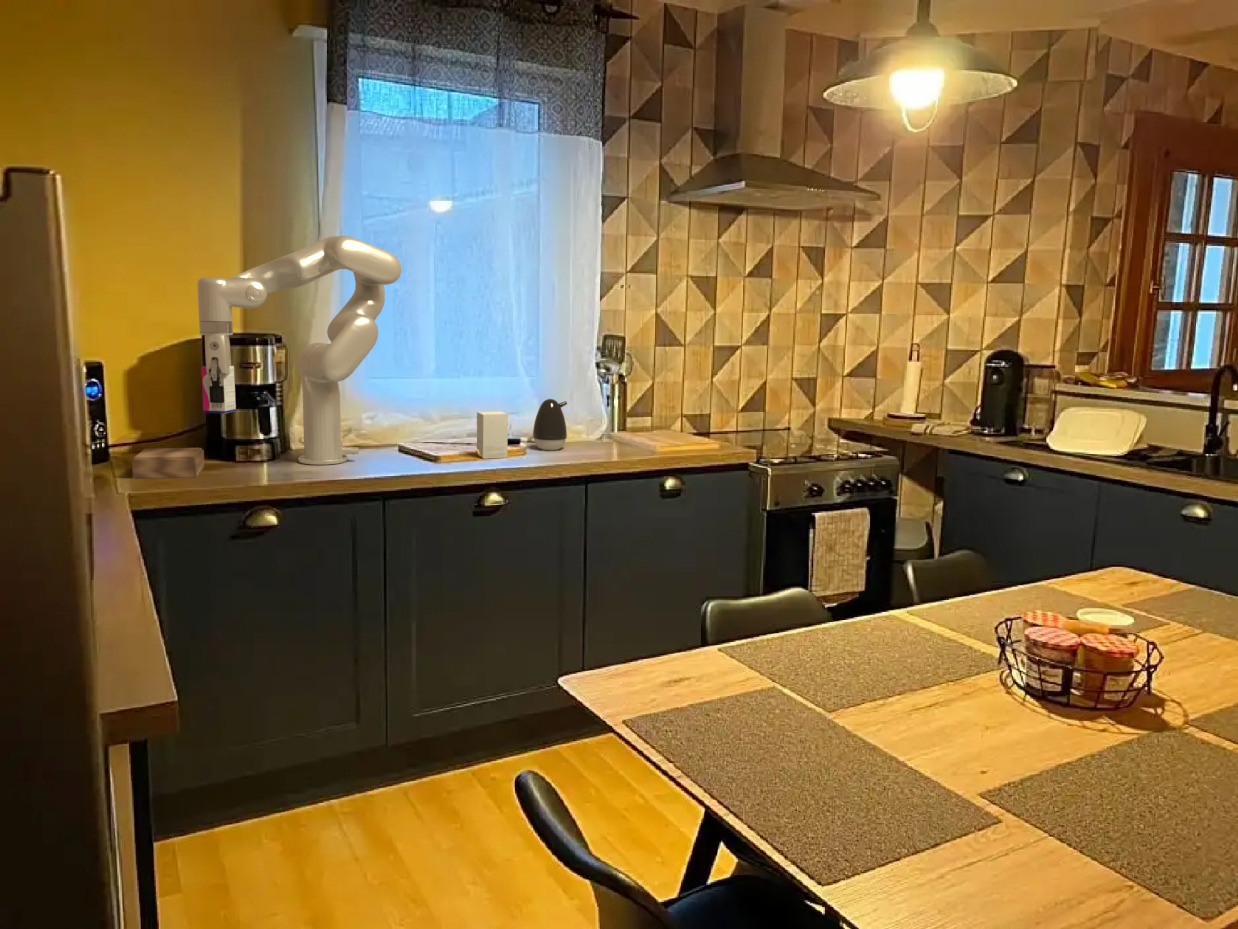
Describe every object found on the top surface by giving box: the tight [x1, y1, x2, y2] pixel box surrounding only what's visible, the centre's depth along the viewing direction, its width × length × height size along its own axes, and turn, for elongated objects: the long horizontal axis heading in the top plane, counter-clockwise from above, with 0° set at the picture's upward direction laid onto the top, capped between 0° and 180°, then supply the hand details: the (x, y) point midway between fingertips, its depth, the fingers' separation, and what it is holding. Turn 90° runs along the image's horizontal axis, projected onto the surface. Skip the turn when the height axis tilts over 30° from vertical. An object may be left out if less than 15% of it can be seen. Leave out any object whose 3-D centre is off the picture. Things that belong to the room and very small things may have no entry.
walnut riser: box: [131, 447, 205, 479], centre depth 239 cm, size 14×14×5 cm
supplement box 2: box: [476, 410, 509, 460], centre depth 274 cm, size 7×7×13 cm
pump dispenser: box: [532, 398, 568, 452], centre depth 290 cm, size 10×10×15 cm
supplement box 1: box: [201, 365, 237, 415], centre depth 239 cm, size 6×6×12 cm
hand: (219, 400), depth 240 cm, fingers closed on supplement box 1, 7 cm apart
